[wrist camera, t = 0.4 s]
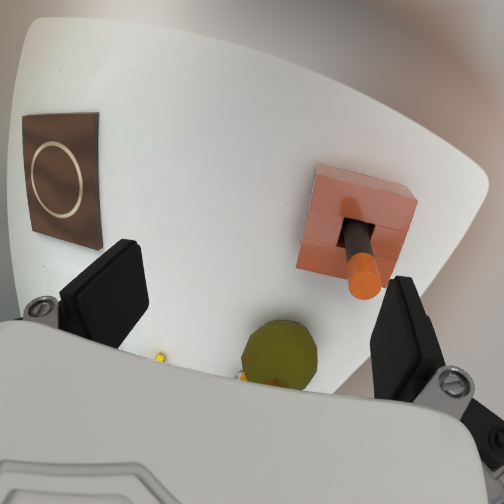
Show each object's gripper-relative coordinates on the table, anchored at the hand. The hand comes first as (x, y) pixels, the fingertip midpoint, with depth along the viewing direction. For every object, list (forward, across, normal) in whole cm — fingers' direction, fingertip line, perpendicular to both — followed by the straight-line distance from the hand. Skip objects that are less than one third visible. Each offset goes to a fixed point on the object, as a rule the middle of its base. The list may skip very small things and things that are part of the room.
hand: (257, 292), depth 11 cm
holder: (+24, -6, +6) cm, 26 cm away
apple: (+25, 0, +24) cm, 35 cm away
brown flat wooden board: (+24, +35, +3) cm, 43 cm away
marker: (+24, -6, +6) cm, 26 cm away
